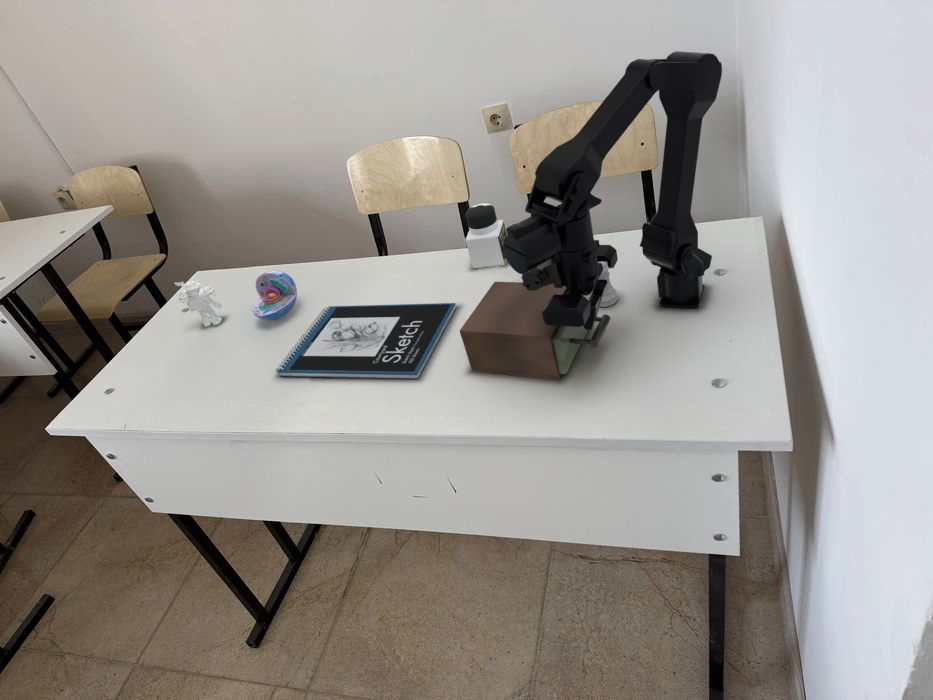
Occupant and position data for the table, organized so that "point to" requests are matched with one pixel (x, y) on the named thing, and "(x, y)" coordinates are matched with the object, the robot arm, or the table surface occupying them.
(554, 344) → the drawer
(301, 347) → the sketchbook
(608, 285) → the rook chess piece
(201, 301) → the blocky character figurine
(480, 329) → the cabinet
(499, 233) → the medicine bottle
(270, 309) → the cell model
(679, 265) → the robot arm
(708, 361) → the table surface
